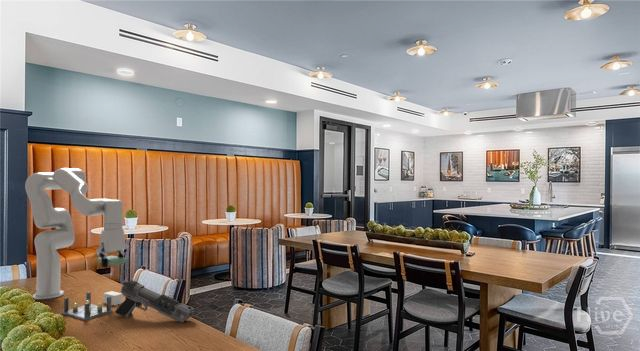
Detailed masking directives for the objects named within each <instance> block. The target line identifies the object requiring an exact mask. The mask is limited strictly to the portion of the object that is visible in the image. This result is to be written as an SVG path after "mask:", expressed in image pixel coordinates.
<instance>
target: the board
mask: <svg viewBox="0 0 640 351" xmlns="http://www.w3.org/2000/svg"><path fill="white" fill-rule="evenodd" d="M107 259H108V266H118V265H123V264H128V263H129V258H128V257H124V256H123V257H118V255H117V256H116V255H107ZM96 261H97V263H98V264H102V258H100V257H97V260H96Z"/></svg>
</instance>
